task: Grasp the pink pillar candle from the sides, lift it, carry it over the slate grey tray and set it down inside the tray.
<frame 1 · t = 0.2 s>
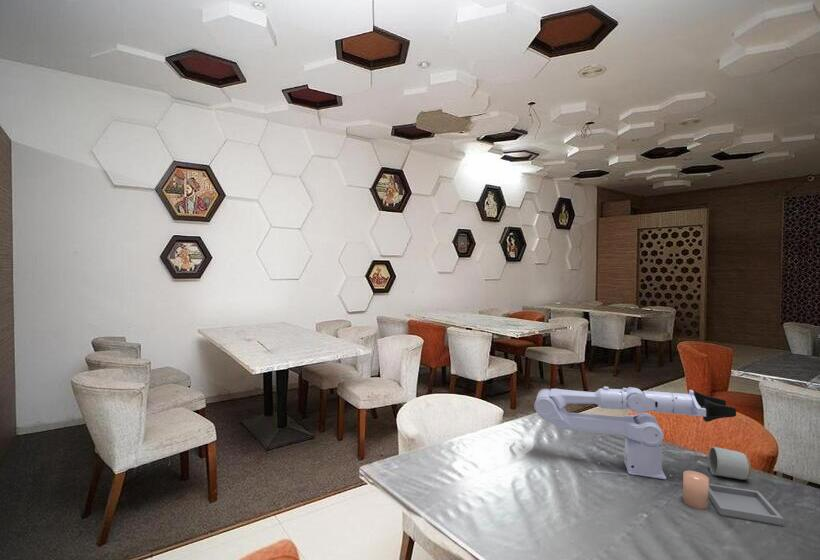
hand: (730, 408, 110), 21 cm above the table, tool horizontal, fingers open, 7 cm apart
tray: (740, 506, 100), on the table
ceramic mug: (725, 474, 116), on the table
pink pillar candle: (695, 503, 102), on the table
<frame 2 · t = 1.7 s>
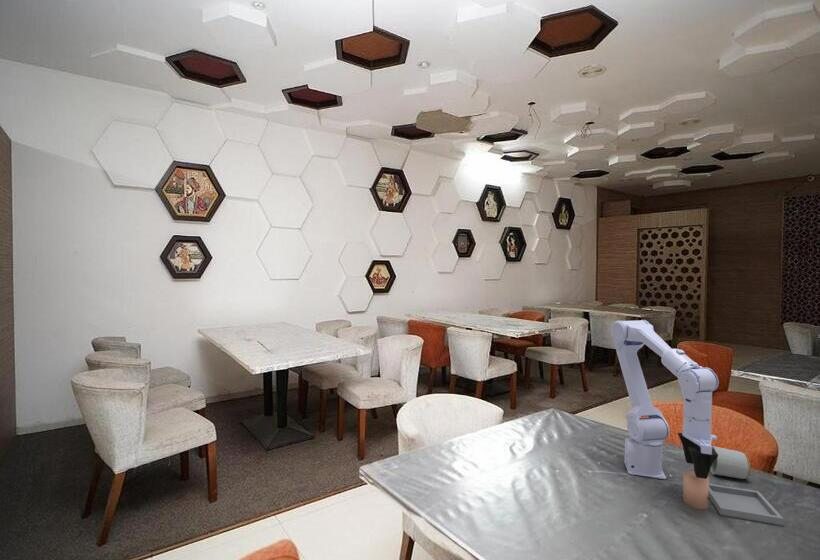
hand: (696, 470, 101), 8 cm above the table, tool pointing down, fingers open, 7 cm apart
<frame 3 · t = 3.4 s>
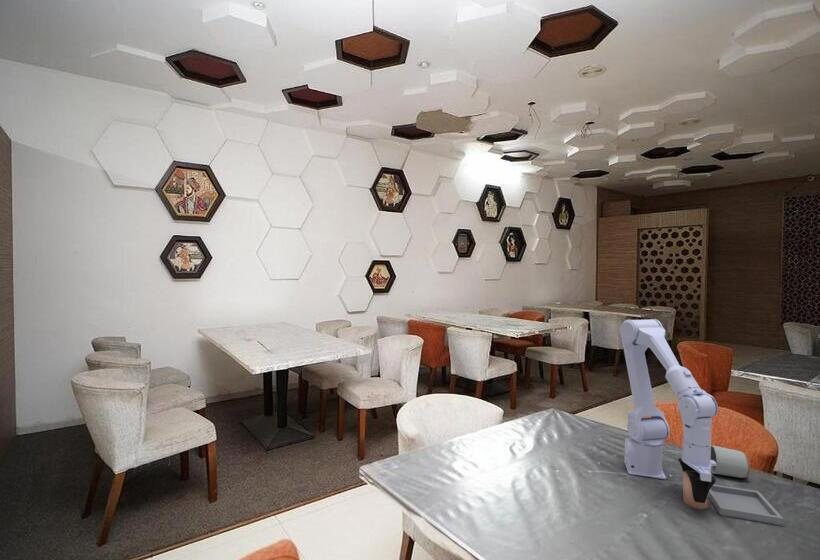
hand: (695, 495, 102), 2 cm above the table, tool pointing down, fingers closed on pink pillar candle, 5 cm apart
pink pillar candle: (695, 503, 102), on the table, touching gripper
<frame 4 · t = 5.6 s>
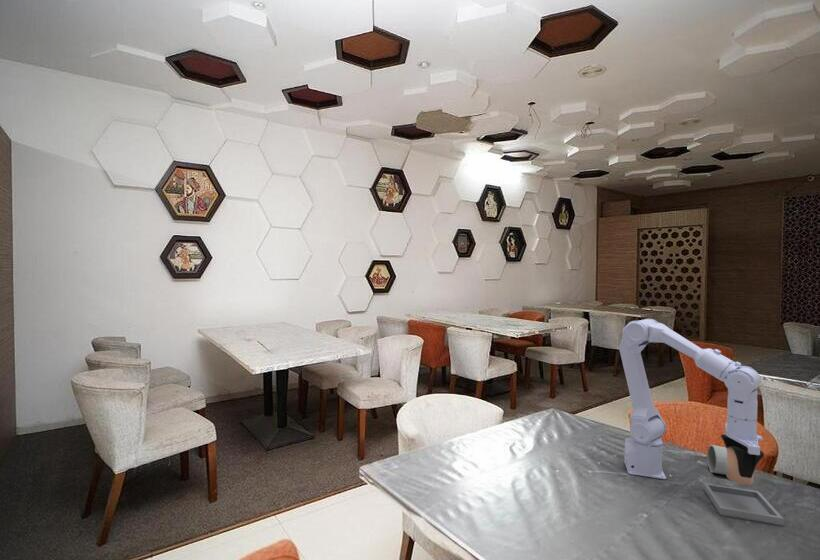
hand: (740, 471, 100), 9 cm above the table, tool pointing down, fingers closed on pink pillar candle, 5 cm apart
pink pillar candle: (739, 479, 100), point 7 cm above the table, touching gripper
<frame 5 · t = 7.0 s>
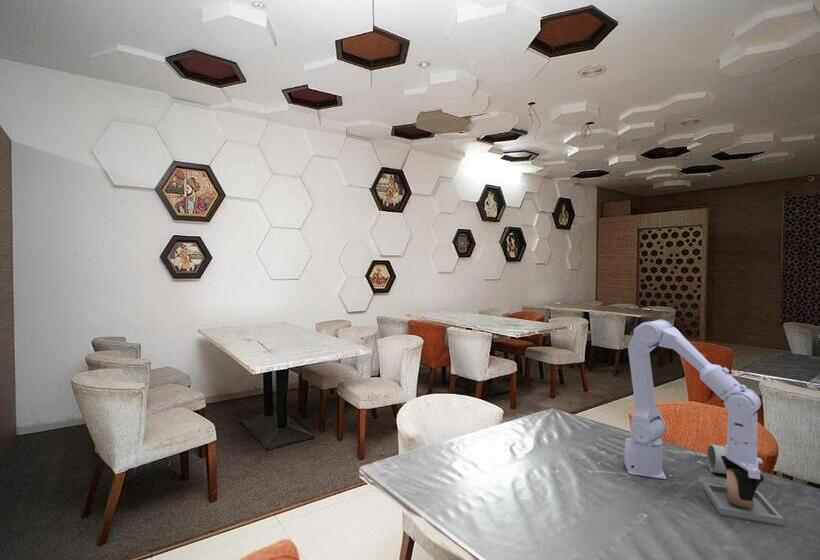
hand: (740, 493, 100), 3 cm above the table, tool pointing down, fingers closed on pink pillar candle, 5 cm apart
pink pillar candle: (740, 501, 100), point 1 cm above the table, touching gripper
when the fingers open (3 cm above the table, at t = 7.9 s): pink pillar candle stays where it is, resting on tray.
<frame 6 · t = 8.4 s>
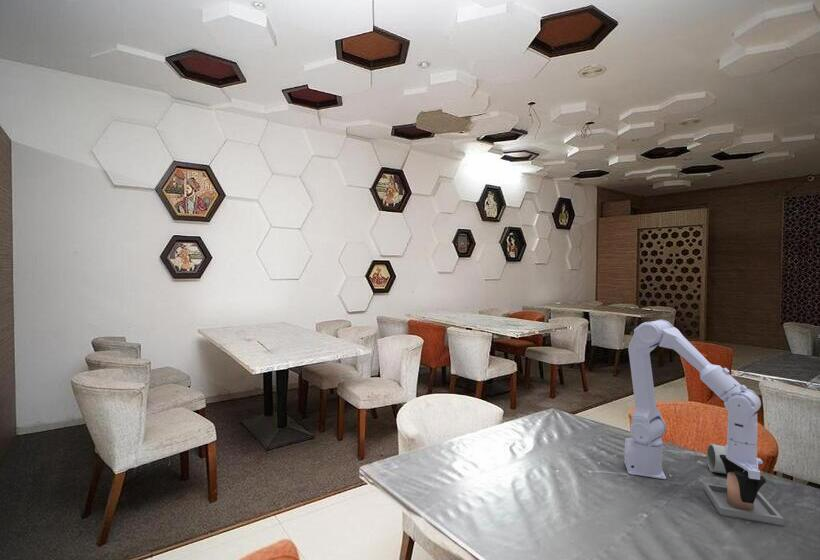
hand: (740, 493, 100), 3 cm above the table, tool pointing down, fingers open, 7 cm apart
pink pillar candle: (739, 504, 100), resting on tray
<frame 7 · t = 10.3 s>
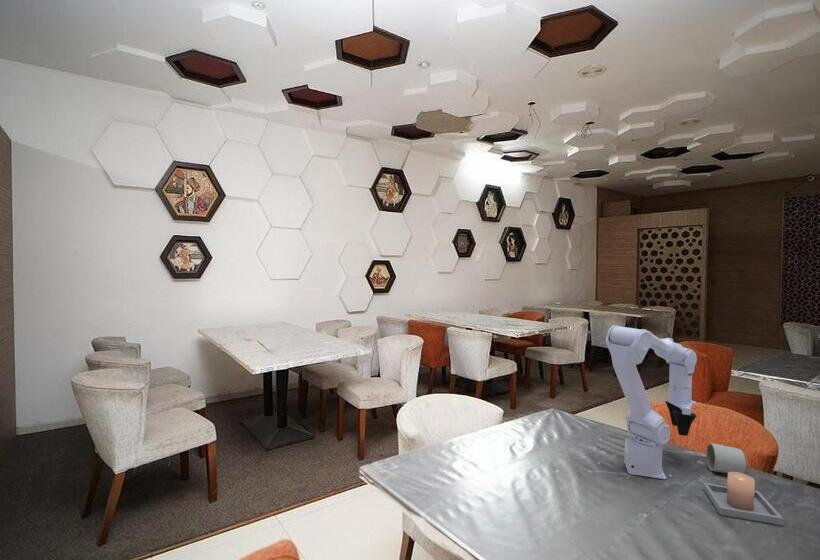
hand: (679, 430, 124), 9 cm above the table, tool pointing down, fingers open, 7 cm apart
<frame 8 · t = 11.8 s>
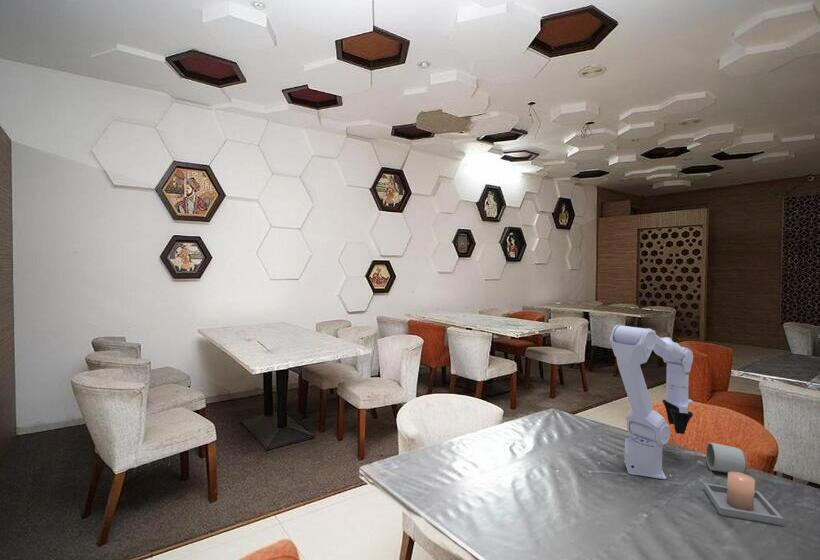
hand: (676, 428, 125), 9 cm above the table, tool pointing down, fingers open, 7 cm apart
at the end: pink pillar candle inside the target area on the tray (0.1 cm from its centre), point 0.5 cm above the tray's base; pink pillar candle tilted 2°; the gripper is holding nothing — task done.
